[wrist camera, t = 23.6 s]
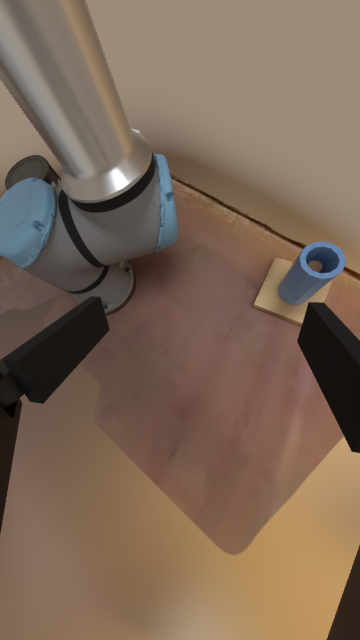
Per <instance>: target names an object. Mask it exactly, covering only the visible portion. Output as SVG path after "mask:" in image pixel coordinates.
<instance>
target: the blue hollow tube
mask: <svg viewBox="0 0 360 640" xmlns="http://www.w3.org/2000/svg"><path fill="white" fill-rule="evenodd" d="M314 260H316V261H319V262H320V263H321V264H322V270H321V271H320V272H319V273H318V272H315V271H313V270H312V269H311V268H310V267H309V266H308V265H307V264H308V263H309V262H310V261H314ZM345 263H346V259H345V256H344V253H343V251H342V250H341V249H339V248H338V247H337V246H336V245H334V244H330V243H327V242H316V243H312V244H310V245H308V246H307V247H305V248H304V249H303V250H302V251H301V253H300V254H299V256H298V257H297V259H296V260H295V262H294V263H293V265H292V266H291V268H290V269H289V271H288V272H287V273H286V275H285V276H284V278H283V279H282V281H281V282H280V284H279V287H278V294H279V297H280V298H281V299H282V300H283V301H284V302H286V303H288V304H291V305H298V304H302V303H304V302H305V301H307V300H308V299H309V298H311V297H312V296H313V295H314V294H316V293H317V292H318V291H319V290H320V289H322V288H323V287H324V286H325V285H326V284H328V283H329V282H330V281H331V280H332V279H334V278H335V277H336V276H337V275H339V274H340V273H341V272H342V271H343V269H344V266H345Z"/></svg>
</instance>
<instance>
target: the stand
mask: <svg viewBox="0 0 360 640" xmlns="http://www.w3.org/2000/svg"><path fill="white" fill-rule="evenodd" d="M292 265H293V263H292V262H289V261H286V260H283V259H280V258H277V257H275V259H274V261H273V263H272V265H271V268H270V270H269V272H268V274H267V276H266V278H265V281H264V283H263V285H262V287H261V289H260V291H259V294H258V296H257V298H256V300H255V302H254V304H253V307H254V308H257V309H259V310H262V311H264V312H267V313H269V314H272V315H274V316H277V317H279V318H282V319H284V320H287V321H289V322H292V323H294V324H297V325H299V326H302V323H303V320H304V316H305V313H306V309H307V306H308V302H324V301H325V298H326V296H327V293H328V291H329V289H330V286H331V284H332V281H333V279H332V280H331V281H330V282H329V283H328V284H326V285H325V286H324V287H323V288H322V289H320V290H319V291H318V292H317V293H316V294H314V295H313V296H312V297H311V298H309V299H308V300H307V301H305V302H304V303H302V304H298V305H291V304H288V303H286V302H284V301H283V300H282V299H281V298H280V297H279V294H278V287H279V284H280V282H281V281H282V279H283V278H284V276H285V275H286V273H287V272H288V271H289V269H290V268H291V266H292ZM307 265H308V266H309V267H310V268H311V269H312V270H313V271H315V272H318V273H319V272H320V271H321V270H322V264H321V263H320V262H319V261H316V260H314V261H310V262H309V263H308V264H307Z"/></svg>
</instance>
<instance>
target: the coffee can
mask: <svg viewBox="0 0 360 640" xmlns="http://www.w3.org/2000/svg"><path fill="white" fill-rule="evenodd" d="M28 178H37V179H41V180H43V181H45V182H46V183H48V184H50V185H51V186H52V187H53V189H54V190H55V191H56V192H58V191H61V190H63V188H62V185H61V178H60V177H59V176H58V175H57V173H56V172H55V171H54V170H53V168H52V167H51V166H50V165H49V163H48V161H47V160H46V159H45V158H44V157H42V156H39V155H33V156H28V157H26V158H24V159H22V160H20V161H19V162H17V163H16V164H15V165H14V166H13V167H12V168H11V169H10V171H9V172H8V174H7V176H6V180H5V186H6V188H7V190H9V189H10V188H11V187H12V186H14V185H15V184H17V183H18V182H20V181H22V180H24V179H28Z"/></svg>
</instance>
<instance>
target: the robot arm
mask: <svg viewBox="0 0 360 640" xmlns="http://www.w3.org/2000/svg"><path fill="white" fill-rule="evenodd" d="M0 80H1V81H2V82H3V84H4V85H5V87H6V88H7V89H8V91H9V92H10V94H11V95H12V97H13V98H14V99H15V101H16V102H17V104H18V105H19V106H20V108H21V109H22V111H23V112H24V113H25V115H26V116H27V118H28V119H29V120H30V122H31V123H32V124H33V126H34V128H35V129H36V130H37V132H38V133H39V135H40V136H41V137H42V139H43V140H44V142H45V143H46V144H47V146H48V147H49V148H50V150H51V151H52V153H53V154H54V156H55V157H56V158H57V160H58V161H59V163H60V164H61V165H62V174H61V185H62V188H63V190H61V191H58V192H56V191H55V190H54V189H53V187H52V186H51V185H50V184H48V183H46V182H45V181H43V180H41V179H37V178H28V179H24V180H22V181H20V182H18V183H17V184H15V185H14V186H12V187H11V188H10V189H9V190H8V191H7V192H6V193H5V194H4V195H3V196H2V198H1V199H0V255H2V256H3V257H5V258H6V259H8V260H10V261H11V262H13V263H14V264H15V265H16V266H17V267H19V268H22V269H24V270H26V271H28V272H30V273H32V274H34V275H36V276H38V277H40V278H41V279H43V280H45V281H47V282H49V283H51V284H53V285H55V286H57V287H59V288H61V289H63V290H65V291H67V292H68V294H69V295H70V296H71V297H72V299H73V300H74V301H75V302H76V304H77V305H78V306H76V307H75V308H73V309H72V310H71V311H69V312H68V313H66V314H65V315H64V316H62V317H61V318H59V319H58V320H57V321H55V322H54V323H52V324H51V325H49V326H48V327H47V328H45V329H44V330H42V331H41V332H40V333H38V334H37V335H35V336H34V337H32V338H31V339H30V340H28V341H27V342H25V343H24V344H23V345H21V346H20V347H18V348H17V349H16V350H14V351H13V352H11V353H10V354H9V355H7V356H6V357H4V358H3V359H1V360H0V532H1V526H2V520H3V514H4V508H5V503H6V497H7V490H8V484H9V479H10V472H11V467H12V461H13V455H14V449H15V443H16V437H17V431H18V425H19V419H20V413H21V407H22V402H21V400H20V399H19V398H20V397H21V396H22V395H23V394H24V393H25V395H26V396H27V398H28V399H29V401H30V402H36V403H42V404H43V403H44V402H45V401H46V400H47V399H48V398H49V397H50V395H51V394H52V393H53V392H54V391H55V390H56V389H57V387H59V385H60V384H61V383H62V382H63V381H64V380H65V379H66V378H67V376H68V375H69V374H70V373H71V372H72V371H73V370H74V369H75V368H76V367H77V365H78V364H79V363H80V362H81V361H82V360H83V359H84V358H85V357H86V355H87V354H88V353H89V352H90V351H91V350H92V349H93V348H94V347H95V345H96V344H97V343H98V342H99V341H100V340H101V339H102V338H103V337H104V336H105V334H106V333H107V332H108V331H109V330H110V329H109V325H108V322H107V318H106V315H108V314H112V313H114V312H116V311H118V310H119V309H121V308H122V307H123V306H124V305H125V304H126V303H127V302H128V301H129V300H130V298H131V296H132V294H133V292H134V289H135V285H136V276H135V272H134V269H133V267H132V266H131V265H130V263H129V262H128V261H127V260H129V259H133V258H136V257H140V256H143V255H147V254H150V253H155V252H158V251H159V250H161V249H163V248H166V247H169V246H171V245H173V244H174V243H175V242H176V240H177V238H178V221H177V212H176V206H175V200H174V197H173V196H174V194H173V188H172V182H171V176H170V172H169V167H168V163H167V160H166V158H165V156H164V155H158V154H154V155H153V154H152V150H151V146H150V144H149V142H148V140H147V139H146V138H145V137H143V136H142V135H141V134H139V133H137V132H135V131H133V130H132V129H131V128H130V126H129V123H128V120H127V117H126V114H125V111H124V108H123V106H122V103H121V100H120V97H119V94H118V91H117V89H116V86H115V83H114V80H113V77H112V74H111V72H110V69H109V66H108V63H107V60H106V57H105V54H104V52H103V49H102V46H101V44H100V40H99V38H98V35H97V32H96V29H95V26H94V23H93V20H92V18H91V15H90V12H89V9H88V6H87V3H86V1H85V0H0ZM297 342H298V344H299V346H300V348H301V350H302V352H303V354H304V356H305V358H306V360H307V362H308V364H309V366H310V368H311V370H312V372H313V374H314V376H315V378H316V380H317V382H318V384H319V386H320V388H321V390H322V392H323V394H324V396H325V398H326V400H327V402H328V404H329V406H330V408H331V410H332V412H333V414H334V416H335V418H336V420H337V422H338V424H339V427H340V429H341V431H342V433H343V435H344V437H345V439H346V441H347V443H348V445H349V447H350V449H351V451H352V452H358V453H360V340H359V339H358V338H357V337H356V336H355V335H354V334H353V333H352V332H351V331H350V330H349V329H348V328H347V327H346V326H345V325H344V323H343V322H342V321H341V320H340V319H339V318H338V317H337V316H336V315H335V314H334V313H333V312H332V311H331V310H330V309H329V308H328V307H327V305H326V304H325V303H324V302H308V306H307V309H306V313H305V316H304V320H303V323H302V327H301V330H300V334H299V337H298V341H297ZM327 640H360V546H359V549H358V552H357V555H356V557H355V560H354V563H353V566H352V569H351V572H350V575H349V578H348V580H347V583H346V586H345V589H344V592H343V595H342V598H341V601H340V603H339V606H338V609H337V612H336V615H335V618H334V621H333V624H332V626H331V629H330V632H329V635H328V638H327Z"/></svg>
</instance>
